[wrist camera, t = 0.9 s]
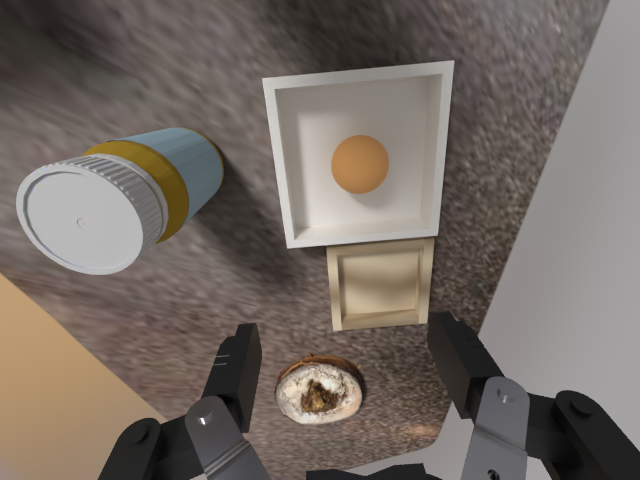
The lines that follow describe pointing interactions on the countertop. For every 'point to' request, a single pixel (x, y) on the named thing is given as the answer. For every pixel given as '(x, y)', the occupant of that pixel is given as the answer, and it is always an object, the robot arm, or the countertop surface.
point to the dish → (350, 120)
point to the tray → (380, 282)
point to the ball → (360, 164)
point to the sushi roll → (319, 390)
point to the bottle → (118, 198)
